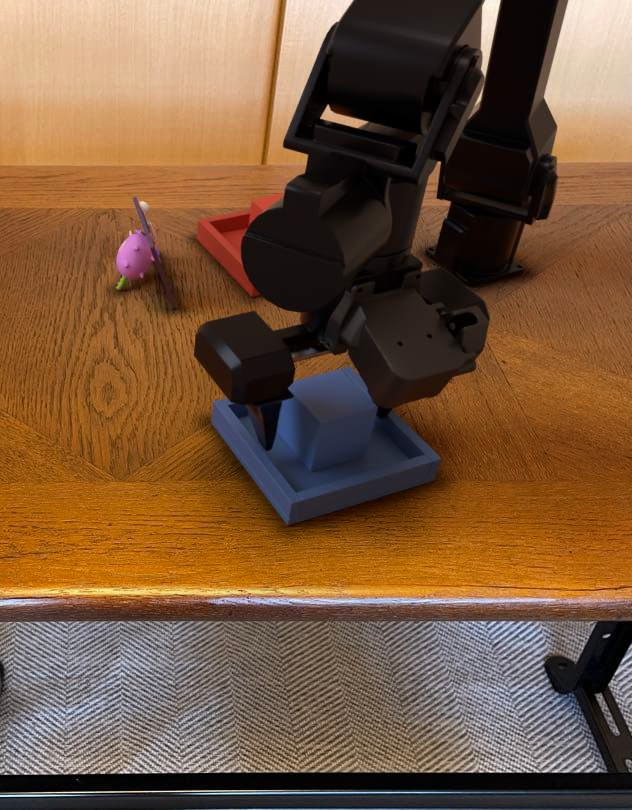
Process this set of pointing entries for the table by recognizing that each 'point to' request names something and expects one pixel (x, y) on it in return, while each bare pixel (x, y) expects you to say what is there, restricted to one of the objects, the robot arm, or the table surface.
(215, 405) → the blue tray
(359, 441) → the blue block
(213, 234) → the red tray
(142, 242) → the pink spiky toy
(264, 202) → the red block
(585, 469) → the table surface
